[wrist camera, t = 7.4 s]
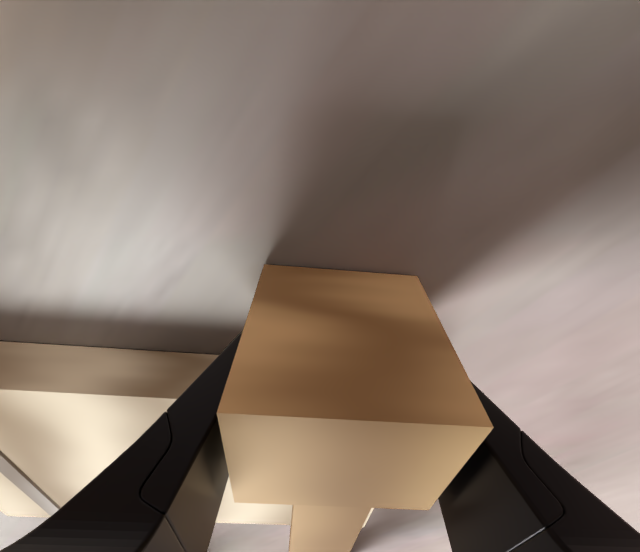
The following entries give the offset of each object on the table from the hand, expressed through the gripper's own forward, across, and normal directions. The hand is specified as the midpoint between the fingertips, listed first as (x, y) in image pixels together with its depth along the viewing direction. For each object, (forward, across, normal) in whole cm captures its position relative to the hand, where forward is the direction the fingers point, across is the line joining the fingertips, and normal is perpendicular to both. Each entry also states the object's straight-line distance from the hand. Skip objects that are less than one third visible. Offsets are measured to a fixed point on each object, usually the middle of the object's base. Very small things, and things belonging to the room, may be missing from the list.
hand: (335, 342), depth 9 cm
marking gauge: (+1, 0, +3) cm, 4 cm away
